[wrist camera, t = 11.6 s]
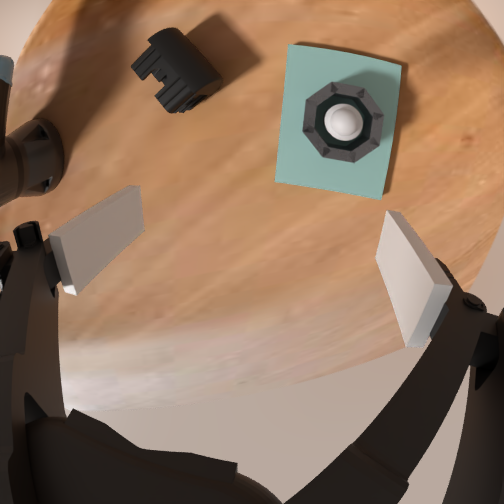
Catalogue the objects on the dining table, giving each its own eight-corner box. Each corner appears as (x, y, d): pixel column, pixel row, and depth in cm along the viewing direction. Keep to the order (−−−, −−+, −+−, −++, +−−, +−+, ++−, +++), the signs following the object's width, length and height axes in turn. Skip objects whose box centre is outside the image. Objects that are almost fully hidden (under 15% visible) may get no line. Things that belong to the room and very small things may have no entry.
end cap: (231, 81, 33) (214, 76, 27) (190, 114, 36) (168, 116, 30) (187, 33, 30) (165, 22, 24) (151, 66, 33) (124, 62, 27)
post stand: (276, 179, 38) (267, 196, 31) (289, 46, 29) (283, 30, 22) (378, 196, 36) (393, 218, 29) (398, 67, 27) (419, 57, 20)
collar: (300, 148, 34) (299, 153, 30) (308, 82, 30) (307, 77, 25) (367, 160, 33) (375, 167, 28) (376, 95, 29) (386, 93, 24)
